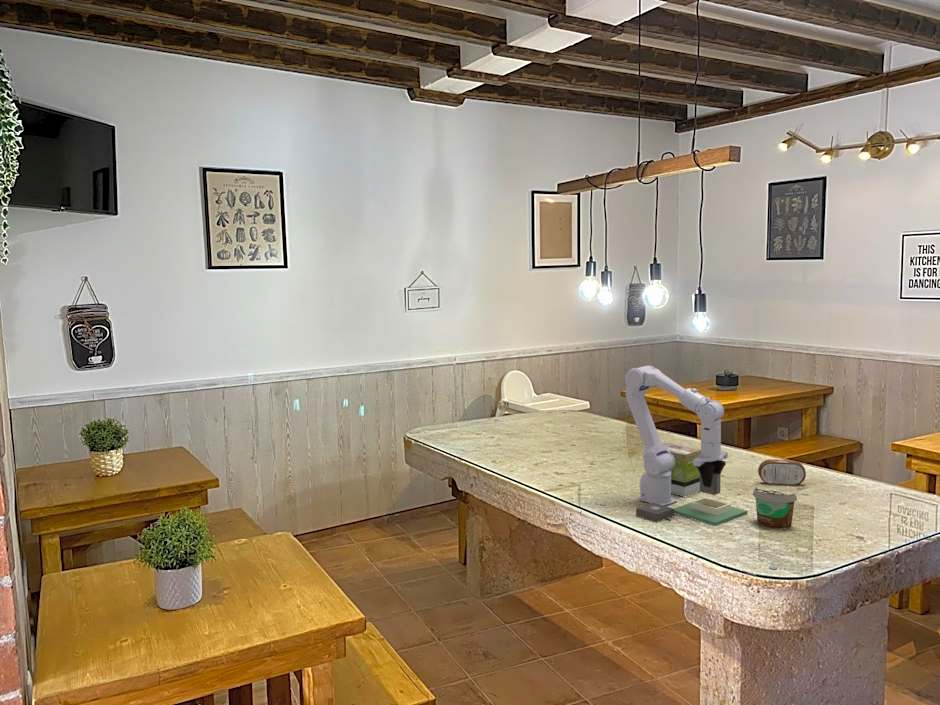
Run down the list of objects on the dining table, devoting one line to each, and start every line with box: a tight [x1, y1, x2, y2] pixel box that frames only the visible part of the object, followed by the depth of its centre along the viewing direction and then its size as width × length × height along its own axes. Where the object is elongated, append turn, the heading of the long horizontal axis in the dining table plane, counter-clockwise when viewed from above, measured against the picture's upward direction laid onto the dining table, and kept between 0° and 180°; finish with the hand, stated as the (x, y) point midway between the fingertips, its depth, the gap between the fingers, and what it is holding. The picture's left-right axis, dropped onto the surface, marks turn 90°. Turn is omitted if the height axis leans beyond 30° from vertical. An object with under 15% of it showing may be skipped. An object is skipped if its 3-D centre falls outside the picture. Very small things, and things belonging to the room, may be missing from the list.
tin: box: [757, 459, 807, 486], centre depth 251 cm, size 15×3×8 cm, turn 74°
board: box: [674, 496, 748, 527], centre depth 224 cm, size 16×16×3 cm
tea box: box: [661, 441, 701, 498], centre depth 248 cm, size 15×10×15 cm, turn 40°
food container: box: [752, 485, 798, 529], centre depth 212 cm, size 12×6×10 cm, turn 44°
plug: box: [699, 472, 721, 496], centre depth 224 cm, size 6×3×6 cm, turn 36°
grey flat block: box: [635, 503, 675, 523], centre depth 222 cm, size 10×8×3 cm
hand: (710, 485), depth 224 cm, fingers closed on plug, 3 cm apart
